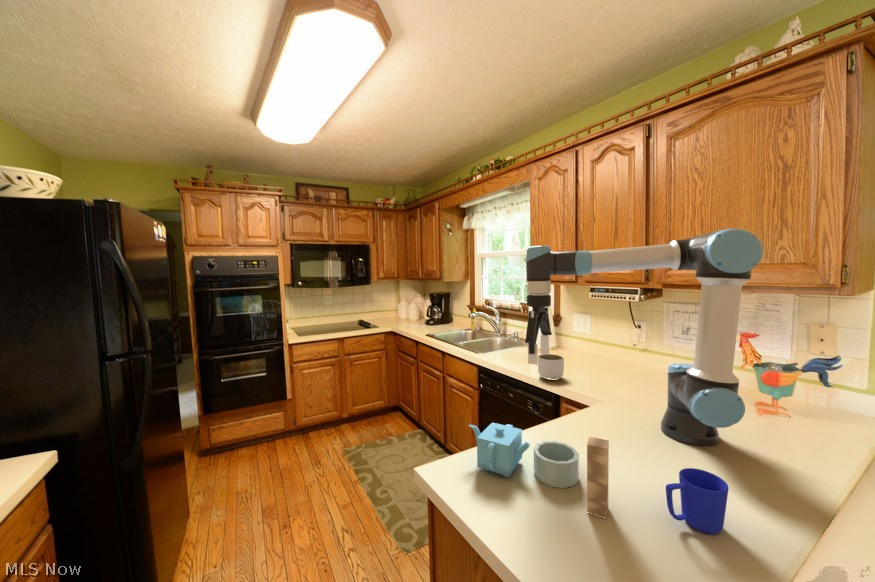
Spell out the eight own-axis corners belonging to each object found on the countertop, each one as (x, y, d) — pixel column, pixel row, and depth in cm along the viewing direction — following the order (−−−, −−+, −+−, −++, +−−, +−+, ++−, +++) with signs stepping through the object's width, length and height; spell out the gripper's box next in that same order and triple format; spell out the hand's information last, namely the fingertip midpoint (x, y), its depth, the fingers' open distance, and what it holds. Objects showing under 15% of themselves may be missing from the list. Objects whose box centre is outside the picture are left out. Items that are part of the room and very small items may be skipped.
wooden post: (608, 508, 77) (608, 440, 76) (606, 519, 74) (607, 448, 73) (589, 502, 79) (589, 436, 78) (587, 512, 76) (587, 444, 75)
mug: (652, 513, 75) (653, 470, 74) (702, 509, 76) (703, 466, 75) (682, 543, 67) (683, 495, 66) (738, 537, 68) (739, 490, 67)
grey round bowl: (581, 470, 92) (581, 447, 91) (574, 493, 82) (574, 468, 82) (540, 459, 97) (540, 437, 97) (529, 480, 88) (529, 456, 87)
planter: (542, 373, 177) (542, 352, 177) (566, 377, 170) (566, 355, 169) (534, 379, 167) (534, 358, 167) (559, 384, 160) (559, 361, 159)
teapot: (520, 491, 83) (520, 447, 83) (457, 470, 93) (456, 431, 92) (538, 460, 97) (538, 422, 96) (481, 444, 106) (480, 410, 106)
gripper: (538, 291, 121) (538, 349, 122) (513, 296, 100) (514, 366, 101) (559, 291, 117) (560, 351, 118) (539, 297, 96) (539, 370, 97)
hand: (539, 358), depth 110 cm, fingers open, 13 cm apart
